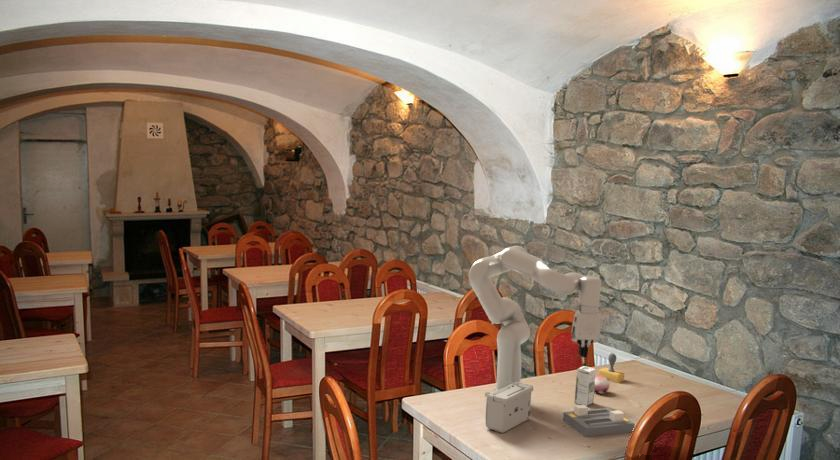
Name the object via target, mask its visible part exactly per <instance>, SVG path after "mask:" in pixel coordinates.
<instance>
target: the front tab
mask: <svg viewBox="0 0 840 460" xmlns="http://www.w3.org/2000/svg"><path fill="white" fill-rule="evenodd" d="M624 417H625V413H624V412H623V411H621V410H613V411H610V418H609V419H610V420H612V421H623V420H624Z"/></svg>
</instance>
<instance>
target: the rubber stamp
mask: <svg viewBox="0 0 840 460" xmlns="http://www.w3.org/2000/svg"><path fill="white" fill-rule="evenodd" d="M616 361H617V355H616V354H615V353H610V354H608V363H609V365H610V367H609V368H608V367H603V368H600V369H598V375H601V376H603V377H605V378H606V379H607V380H608V381H611V382H613V381H614V383H618V384H619V383H621V382H623V381H624V382H625V372H623V371H619V370H616V369H614V366H615V363H616Z"/></svg>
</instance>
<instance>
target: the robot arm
mask: <svg viewBox="0 0 840 460" xmlns="http://www.w3.org/2000/svg"><path fill="white" fill-rule="evenodd" d="M510 271H513V272H516V273H518V274H521V275H523V276H525V277H528V278H529V279H532V280H534V281H535V282H536V283H538V284H539V285H541V287H544V288H545V289H548V290H550V291H552V292H554V293H557V294H559V295H563V296H568V295H571V294H573V293H577V292H578V294H579V295H578V303H577V305H576V306H575V307H574V309H575V310H577V311H575V314H574V316H573V320H572V326H571V332H570V335H571V339H570V340H571V341H572V342H574V343H576V344H577V345H578V356H579V357H581V358H587V357H588V353H589V347H590V346H591V345H592V343H595V342H598V340H599V339H600V337H601V326H602V325H601V324H602V323H601V322H602V321H601V314H600V313H599V307H600V297H601V290H602V289H601V288H602V280H601V278H600V277H597V276H594V275H593V276H592V275H584V274H581V273H578V272H573V271H572V272H568V273H561V272H558V271H556V270H554V269H552V268H550V267H548V266H547V265H546V263H545V262H544V260H543V259H542V258H540V257H538V256H535V255H532V254H530V253H528V252H527V250H526V249H525V248H524V247H523V246H520V245H512V246H508V247H506V248H504V249H503V250H502V251H500V252H498V253H496V254H493V255H489V256H485V257H482V258H479V259H477V260H476V261H475V262H474V263H473V264H472V265H471V267H470V269H469V273H468V281H469V285H470V286H471V289H472V290H473V292H474V293H475V296H476V298H477V299H478V302H479V303H480V305H481V307H482V309H483V310H484V312H485V314H486V316H487V317H488V320H489V321H490V322H491V323H493V324H497V325H498V324H499V325H500V324H503V326H502V327H501V328H500V329H499V330H498V332H497V335H496V346H497V367H496V368H497V369H496V370H497V371H496V387H495V388H494V389H493V390H492V391H487V392H486V391H485V392H484V397H485V398H487V395H488V394H490V393H493V392H495V391H497V390H499V389H502V388H504V387H506V386H508V385H511V384H513V383H515V382H520V383H521V378H522V377H521V376H522V374H521V373H522V351H521V345H522V344H524V343H525V342H526V341H528V340H529V338H530V335H531V329H530V327H529V325H528V322H527V320H526V318H525V316H524V315H523V313H522V312H521V310H520V308H519V306H518V304H517V303H516V302H515V301H514V300H513V299H512V298H510V297H506V296H505V297H502V296H501V294H500V293H499V290H498V289H497V287H496V286H495V285H494V284H493V282H492V281H491V280H490V279H491V278H493V277H497V276H499V275H501V274H504V273H507V272H510ZM505 378H506V379H507V380H509V381H511V382H513V383H511V382H509V381H507V380H505Z"/></svg>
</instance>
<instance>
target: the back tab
mask: <svg viewBox="0 0 840 460" xmlns="http://www.w3.org/2000/svg"><path fill="white" fill-rule="evenodd" d="M588 410H589V407H588V406H585V405H581V404H577V405H574V406H573V411H574V414H576V415H577V416H580V415H588Z"/></svg>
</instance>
